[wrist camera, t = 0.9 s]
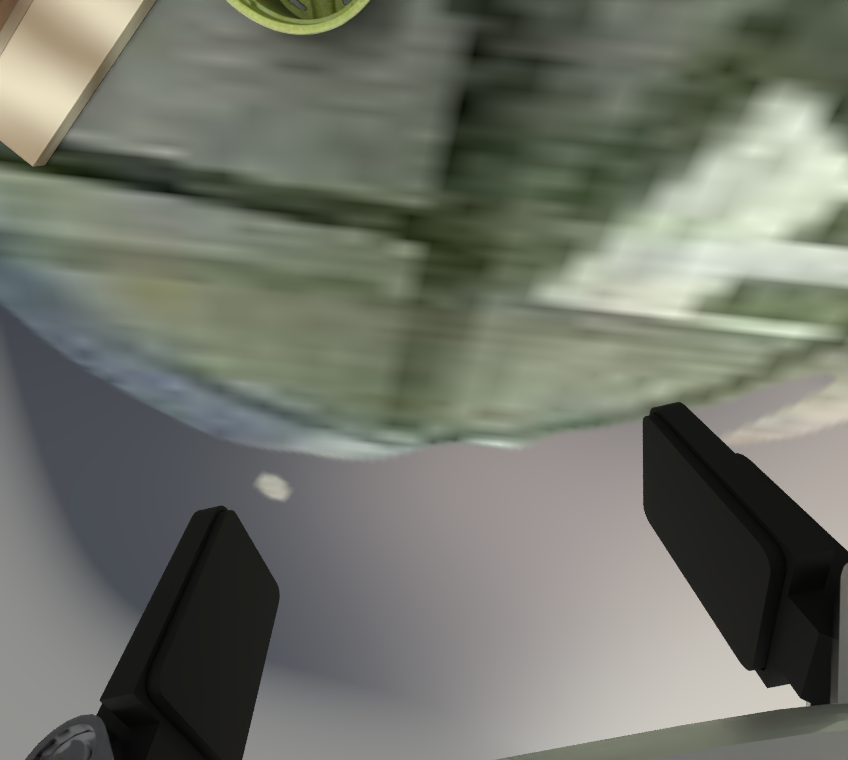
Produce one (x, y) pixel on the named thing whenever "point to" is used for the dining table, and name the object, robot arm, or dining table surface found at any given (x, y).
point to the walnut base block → (6, 10)
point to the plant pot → (299, 14)
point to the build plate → (57, 66)
